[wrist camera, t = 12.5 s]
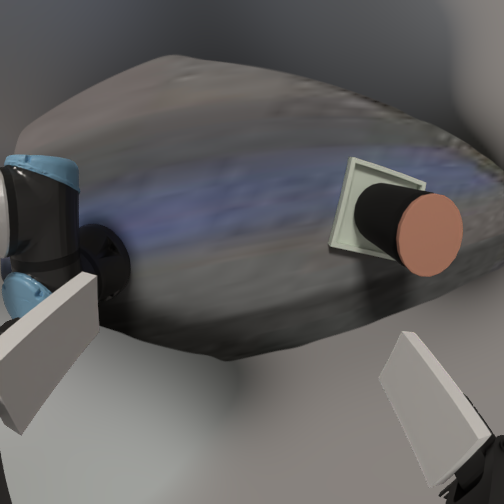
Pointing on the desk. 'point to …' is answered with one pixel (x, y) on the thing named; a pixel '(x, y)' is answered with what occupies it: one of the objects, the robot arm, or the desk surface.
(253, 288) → the desk surface
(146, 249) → the desk surface
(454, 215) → the coffee jar
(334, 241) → the sage tray
